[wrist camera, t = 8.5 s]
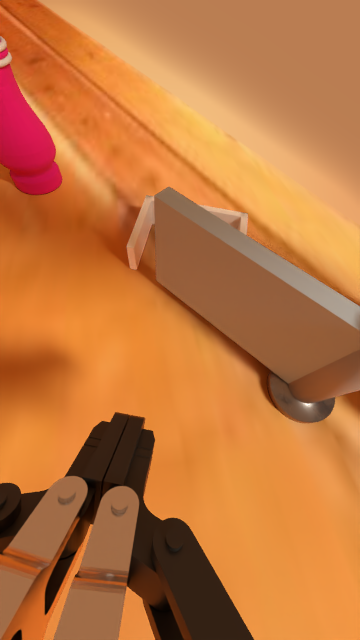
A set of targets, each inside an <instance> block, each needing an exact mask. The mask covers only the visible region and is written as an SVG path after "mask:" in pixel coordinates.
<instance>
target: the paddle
mask: <svg viewBox="0 0 360 640" xmlns="http://www.w3.org/2000/svg"><path fill="white" fill-rule="evenodd" d="M154 215H155V258H156V281H157V282H159V283H160V284H161V285H163V286H164V287H165V288H166V289H168V290H169V291H170V292H172V293H173V294H174V295H175V296H177V297H178V298H179V299H180V300H182V301H183V302H184V303H186V304H187V305H188V306H189V307H191V308H192V309H193V310H195V311H196V312H197V313H198V314H200V315H201V316H202V317H203V318H205V319H206V320H207V321H209V322H210V323H211V324H212V325H214V326H215V327H216V328H218V329H219V330H220V331H221V332H223V333H224V334H225V335H227V336H228V337H229V338H230V339H232V340H233V341H234V342H235V343H237V344H238V345H239V346H241V347H242V348H243V349H244V350H246V351H247V352H248V353H250V354H251V355H252V356H253V357H255V358H256V359H257V360H258V361H260V362H261V363H262V364H264V365H265V366H266V367H267V368H269V369H270V370H271V371H273V372H274V373H275V374H276V375H278V376H279V377H280V378H281V379H283V380H284V381H285V382H287V383H288V386H289V390H290V392H291V393H292V395H293V396H294V397H295V398H296V399H297V400H298V401H300V402H302V403H306V404H312V403H315V402H319V401H322V400H326V399H330V398H333V397H337V396H341V395H344V394H348V393H351V392H355V391H359V390H360V306H358V305H357V304H355V303H354V302H352V301H350V300H349V299H347V298H346V297H344V296H342V295H341V294H339V293H338V292H336V291H334V290H333V289H331V288H330V287H328V286H327V285H325V284H323V283H322V282H320V281H319V280H317V279H315V278H314V277H312V276H311V275H309V274H307V273H306V272H304V271H303V270H301V269H299V268H298V267H296V266H295V265H293V264H291V263H290V262H288V261H287V260H285V259H283V258H282V257H280V256H279V255H277V254H276V253H274V252H272V251H271V250H269V249H268V248H266V247H264V246H263V245H261V244H260V243H258V242H256V241H255V240H253V239H252V238H250V237H248V236H247V235H245V234H244V233H242V232H240V231H239V230H237V229H236V228H234V227H233V226H231V225H229V224H228V223H226V222H225V221H223V220H221V219H220V218H218V217H217V216H215V215H213V214H212V213H210V212H209V211H207V210H205V209H204V208H202V207H201V206H199V205H197V204H196V203H194V202H193V201H191V200H189V199H188V198H186V197H185V196H183V195H182V194H180V193H178V192H177V191H175V190H174V189H172V188H170V187H167V188H166V189H164V190H163V191H161V192H159V193H158V194H156V195H155V196H154Z"/></svg>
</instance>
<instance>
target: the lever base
mask: <svg viewBox="0 0 360 640" xmlns="http://www.w3.org/2000/svg"><path fill="white" fill-rule="evenodd" d="M267 388H268V392H269V395H270V398H271V400H272V402H273V403H274V405H275V406H276V408H277V409H278V410H279V411H280V412H281V413H282V414H283V415H285V416H286V417H288V418H289V419H291V420H293V421H296V422H300V423H313V422H318V421H321V420H323V419H325V418H326V417H327V416H329V414H330V413H331V412H332V410H333V407H334V404H335V397H333V398H330V399H326V400H322V401H319V402H315V403H312V404H306V403H302V402H300V401H298V400H297V399H296V398H295V397H294V396H293V395H292V393H291V392H290V390H289V386H288V383H287V382H285V381H284V380H283V379H281V378H280V377H279V376H278V375H276V374H275V373H274V372H273V371H271V370H270V372H269V375H268V379H267Z"/></svg>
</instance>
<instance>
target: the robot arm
mask: <svg viewBox="0 0 360 640" xmlns="http://www.w3.org/2000/svg"><path fill="white" fill-rule="evenodd" d="M144 423H145V418H143V417H138V416H133V415H131V416H130V415H128V414H123V413H118V412H116V413H115V414H114V416H113V418H112V420H111V422H105V421H102V422H100V423H99V424H98V425H97V426H95V427H94V428H93V430H92V432H91V433H90V435H89V437H88V438H87V440H86V442H85V443H84V446H83V447H82V448H81V450H80V452H79V454H78V455H77V457H76V459H75V460H74V462H73V464H72V465H71V467H70V469H69V471H68V472H67V474H66V475H65V477H64V478H62V479H60V480H58V481H57V482H55V483H54V484H53V485H52V486H51V487H50V488H49V489H47V490H44V491H40V492H32V493H24V494H21V491H20V489H19V487H18V486H17V485H15V484H12V483H2V484H0V640H43V639H44V635H45V631H46V628H47V625H48V622H49V620H50V617H51V615H52V613H53V611H54V609H55V606H56V604H57V602H58V600H59V598H60V595H61V593H62V591H63V589H64V587H65V584H66V582H67V580H68V578H69V576H70V573H71V571H72V569H73V567H74V565H75V563H76V560H77V558H78V556H79V554H80V552H81V549H82V547H83V542H84V539H85V536H86V534H87V531H88V528H89V526H90V524H93V527H92V531H91V534H90V537H89V540H88V543H87V547H86V550H85V553H84V556H83V559H82V563H81V566H80V569H79V571H78V573H77V574H76V575H75V577H74V579H73V582H72V584H71V587H70V590H69V593H68V596H67V599H66V602H65V605H64V608H63V611H62V615H61V618H60V621H59V624H58V627H57V630H56V633H55V636H54V639H53V640H118V637H119V631H120V624H121V618H122V612H123V605H124V599H125V593H126V586H127V587H129V588H130V589H131V590H132V591H134V592H135V593H136V594H137V595H139V596H140V597H141V598H142V599H143V604H144V607H145V610H146V613H147V616H148V619H149V622H150V625H151V628H152V631H153V634H154V637H155V640H254V639H253V637H252V635H251V633H250V632H249V630H248V628H247V627H246V625H245V623H244V621H243V620H242V618H241V616H240V614H239V613H238V611H237V609H236V607H235V606H234V604H233V602H232V600H231V599H230V597H229V595H228V593H227V592H226V590H225V588H224V586H223V585H222V583H221V581H220V579H219V578H218V576H217V574H216V572H215V571H214V569H213V567H212V566H211V564H210V562H209V560H208V559H207V557H206V555H205V553H204V552H203V550H202V548H201V546H200V545H199V543H198V541H197V539H196V538H195V536H194V534H193V532H192V531H191V529H190V528H189V526H188V525H187V524H186V523H185V522H184V521H182V520H180V519H177V518H168V519H165V520H163V521H162V520H160V519H159V518H157V517H156V516H154V515H153V514H152V513H151V512H150V511H149V510H148V509H147V507H146V505H145V503H144V500H143V496H144V492H145V487H146V483H147V478H148V474H149V469H150V465H151V459H152V454H153V448H154V442H155V438H154V434H153V431H151V430H146V429H144Z"/></svg>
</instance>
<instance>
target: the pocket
mask: <svg viewBox="0 0 360 640" xmlns="http://www.w3.org/2000/svg"><path fill="white" fill-rule="evenodd" d="M197 205H198V204H197ZM199 206H201V207H202V208H204V209H205V210H207V211H209V212H210V213H212V214H213V215H215V216H217V217H218V218H220V219H221V220H223V221H225V222H226V223H228V224H229V225H231V226H233V227H234V228H236V229H237V230H239V231H240V232H242V233H244V234H245V235H247V221H248V213H242V212H237V211H231V210H226V209H220V208H215V207H209V206H204V205H199ZM152 224H153V225H155V215H154V196H148V195H146V197H145V200H144V202H143V205H142V208H141V210H140V213H139V215H138V218H137V221H136V223H135V226H134V228H133V231H132V233H131V236H130V239H129V241H128V244H127V246H126V247H127V253H128V259H129V265H130V269H134V270H137V268H138V265H139V262H140V259H141V256H142V253H143V250H144V247H145V244H146V241H147V238H148V235H149V232H150V229H151V226H152Z"/></svg>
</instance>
